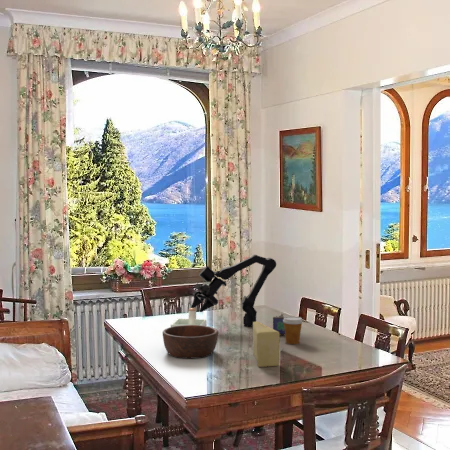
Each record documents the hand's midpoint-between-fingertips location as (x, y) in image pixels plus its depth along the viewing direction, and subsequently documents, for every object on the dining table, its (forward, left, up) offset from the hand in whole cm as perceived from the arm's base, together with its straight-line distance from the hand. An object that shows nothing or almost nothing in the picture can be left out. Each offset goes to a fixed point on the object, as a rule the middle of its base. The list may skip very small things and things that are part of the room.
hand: (195, 310), depth 332 cm
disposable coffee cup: (-52, +22, -10) cm, 57 cm away
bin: (+3, +2, -10) cm, 11 cm away
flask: (-46, +5, -10) cm, 47 cm away
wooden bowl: (-7, +48, -10) cm, 50 cm away
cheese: (-40, +55, -10) cm, 68 cm away
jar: (+2, +1, -9) cm, 9 cm away
